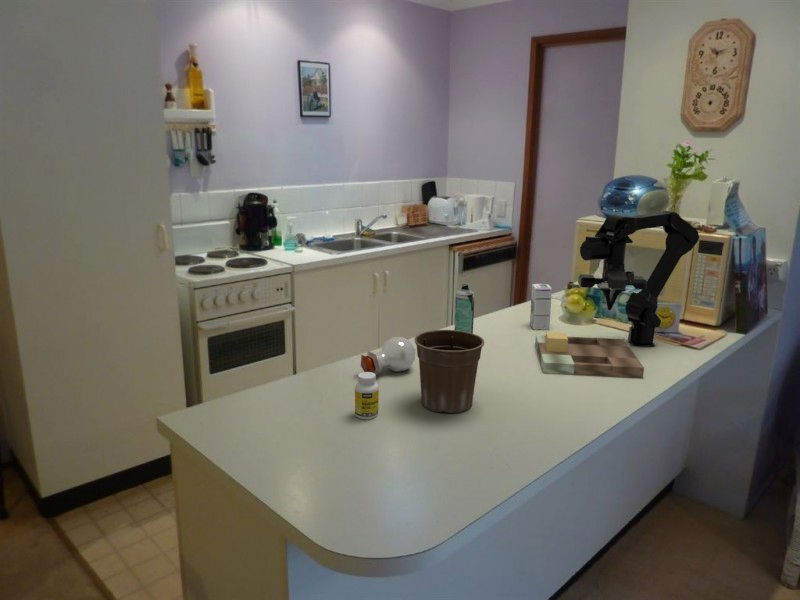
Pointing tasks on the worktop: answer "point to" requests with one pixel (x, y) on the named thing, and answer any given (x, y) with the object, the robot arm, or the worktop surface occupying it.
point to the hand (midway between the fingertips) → (609, 309)
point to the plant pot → (448, 368)
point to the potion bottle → (390, 356)
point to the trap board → (590, 358)
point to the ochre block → (556, 342)
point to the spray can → (464, 309)
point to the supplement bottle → (366, 396)
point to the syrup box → (540, 306)
